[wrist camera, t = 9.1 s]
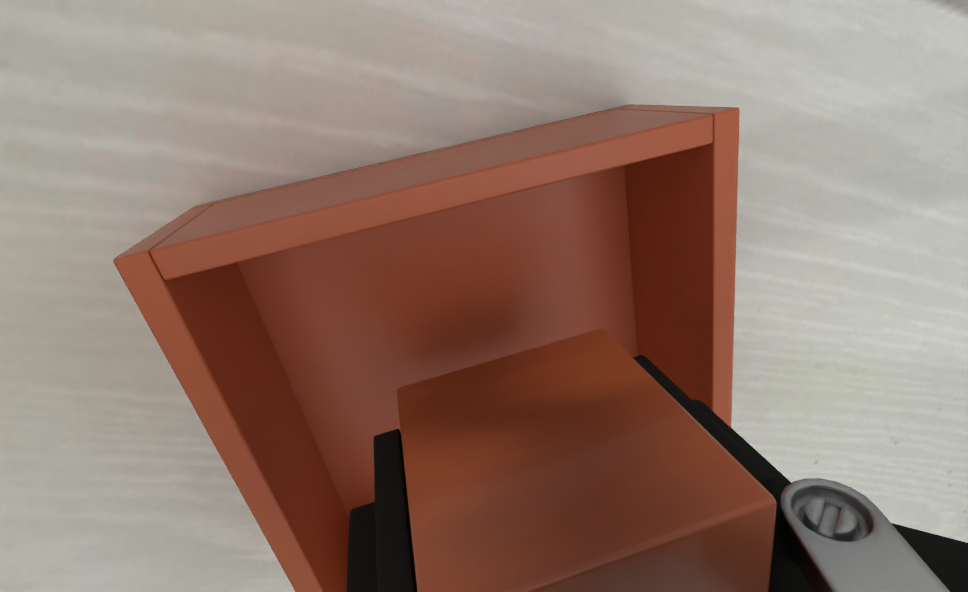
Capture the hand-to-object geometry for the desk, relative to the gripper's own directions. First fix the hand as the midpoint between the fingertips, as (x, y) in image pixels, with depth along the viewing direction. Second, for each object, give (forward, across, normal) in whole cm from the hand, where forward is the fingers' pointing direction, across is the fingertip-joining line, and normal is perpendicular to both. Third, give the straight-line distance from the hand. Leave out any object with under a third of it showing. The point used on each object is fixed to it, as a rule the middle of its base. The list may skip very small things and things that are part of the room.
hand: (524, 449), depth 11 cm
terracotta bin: (+5, 0, 0) cm, 5 cm away
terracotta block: (0, 0, 0) cm, 0 cm away
